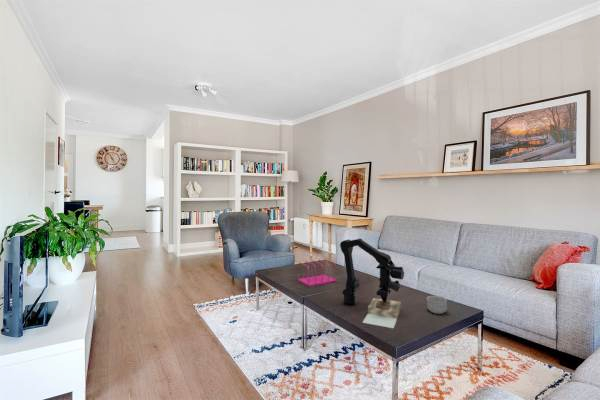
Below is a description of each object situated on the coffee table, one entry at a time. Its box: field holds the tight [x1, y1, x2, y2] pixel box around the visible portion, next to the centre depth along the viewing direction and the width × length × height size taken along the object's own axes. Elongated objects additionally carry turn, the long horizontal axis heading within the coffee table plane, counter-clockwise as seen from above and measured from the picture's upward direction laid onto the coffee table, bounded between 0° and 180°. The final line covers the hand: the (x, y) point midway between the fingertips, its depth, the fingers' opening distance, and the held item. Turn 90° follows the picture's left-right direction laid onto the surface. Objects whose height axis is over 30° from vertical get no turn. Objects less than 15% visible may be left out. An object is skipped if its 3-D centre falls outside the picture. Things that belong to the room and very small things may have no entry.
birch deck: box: [367, 297, 402, 319], centre depth 179 cm, size 16×16×4 cm
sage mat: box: [362, 313, 398, 329], centre depth 166 cm, size 16×13×1 cm
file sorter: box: [297, 258, 338, 287], centre depth 237 cm, size 17×25×16 cm
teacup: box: [426, 295, 448, 315], centre depth 178 cm, size 14×11×8 cm
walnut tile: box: [376, 301, 390, 310], centre depth 175 cm, size 7×6×2 cm
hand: (384, 303), depth 178 cm, fingers closed
